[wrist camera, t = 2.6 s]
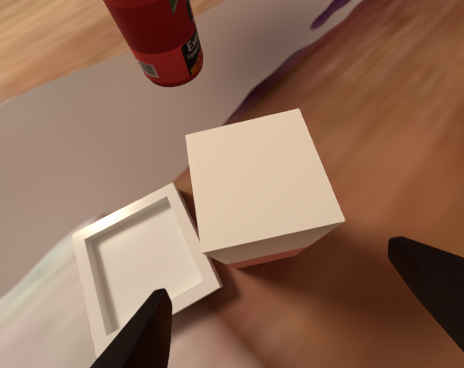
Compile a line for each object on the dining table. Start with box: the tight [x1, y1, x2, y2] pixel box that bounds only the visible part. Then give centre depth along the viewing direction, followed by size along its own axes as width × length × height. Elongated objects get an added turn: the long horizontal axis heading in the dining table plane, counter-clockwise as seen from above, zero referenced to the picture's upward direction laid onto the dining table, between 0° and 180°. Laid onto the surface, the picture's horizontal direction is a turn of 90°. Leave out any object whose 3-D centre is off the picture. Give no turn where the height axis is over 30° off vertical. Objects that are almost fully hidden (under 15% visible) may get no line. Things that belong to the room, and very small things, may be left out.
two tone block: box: [186, 109, 345, 269], centre depth 14 cm, size 5×5×12 cm
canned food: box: [103, 0, 203, 87], centre depth 25 cm, size 8×8×11 cm
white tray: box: [71, 183, 224, 358], centre depth 19 cm, size 10×10×2 cm
